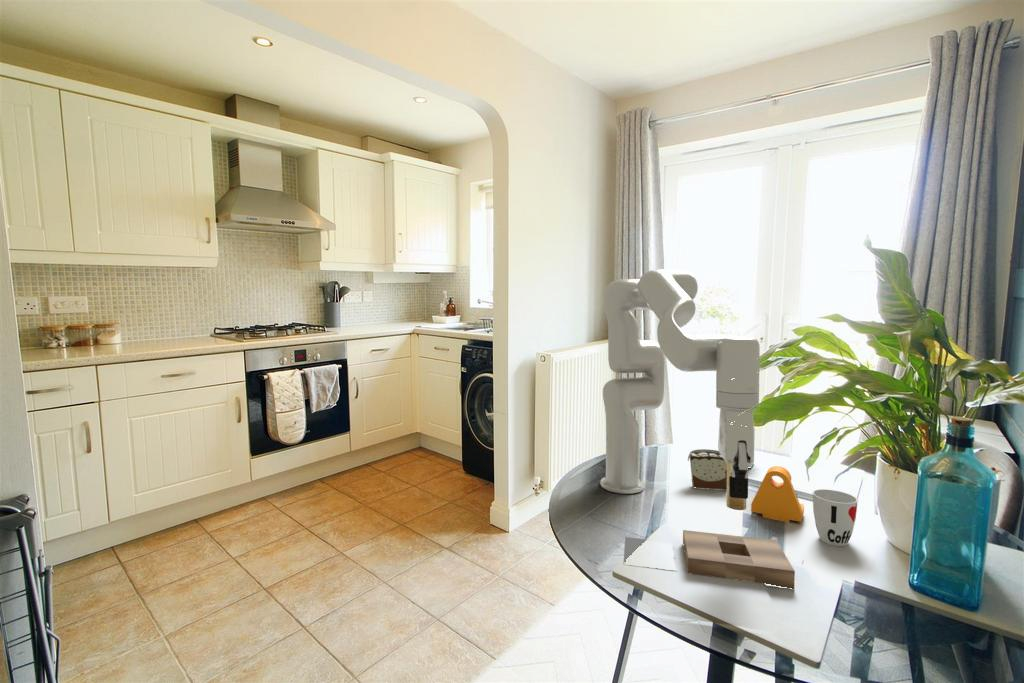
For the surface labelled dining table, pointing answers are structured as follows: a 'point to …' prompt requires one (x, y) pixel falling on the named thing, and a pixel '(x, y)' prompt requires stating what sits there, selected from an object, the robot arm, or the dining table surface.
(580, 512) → the dining table surface
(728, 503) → the peg
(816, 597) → the dining table surface
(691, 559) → the mortise block
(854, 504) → the cup
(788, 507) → the bracket
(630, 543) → the mat
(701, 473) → the food container
